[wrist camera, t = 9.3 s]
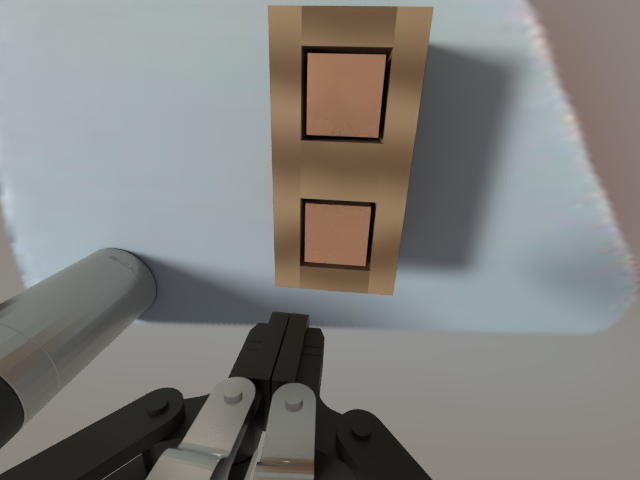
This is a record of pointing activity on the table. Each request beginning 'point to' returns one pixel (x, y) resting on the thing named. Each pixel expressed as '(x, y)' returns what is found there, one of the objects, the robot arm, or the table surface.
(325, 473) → the robot arm
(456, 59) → the table surface
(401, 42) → the walnut block
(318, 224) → the peg far
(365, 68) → the peg near
